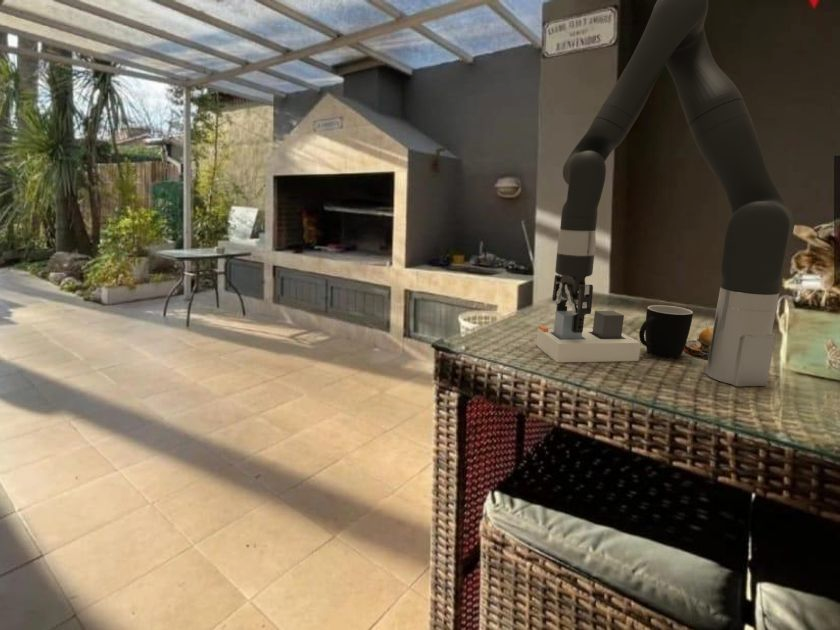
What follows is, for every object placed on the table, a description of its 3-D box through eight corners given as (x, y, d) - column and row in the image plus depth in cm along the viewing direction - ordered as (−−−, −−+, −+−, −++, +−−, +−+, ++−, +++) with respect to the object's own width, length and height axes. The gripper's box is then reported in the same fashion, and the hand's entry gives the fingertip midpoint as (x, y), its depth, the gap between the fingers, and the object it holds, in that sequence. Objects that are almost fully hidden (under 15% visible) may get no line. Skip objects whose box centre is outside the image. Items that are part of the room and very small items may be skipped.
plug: (580, 351, 106) (583, 315, 104) (560, 352, 106) (564, 315, 104) (571, 345, 110) (574, 310, 109) (552, 346, 110) (555, 310, 108)
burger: (753, 366, 104) (759, 331, 102) (692, 361, 106) (697, 327, 104) (730, 349, 115) (736, 318, 114) (675, 345, 118) (680, 314, 116)
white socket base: (638, 361, 104) (644, 319, 102) (556, 362, 102) (560, 320, 100) (610, 344, 116) (614, 307, 114) (536, 345, 113) (539, 307, 111)
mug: (661, 346, 115) (668, 304, 113) (695, 358, 107) (703, 312, 105) (622, 351, 111) (627, 307, 108) (654, 363, 103) (660, 316, 100)
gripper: (609, 256, 97) (600, 336, 101) (577, 248, 111) (571, 319, 114) (572, 255, 96) (565, 336, 100) (545, 248, 110) (539, 319, 113)
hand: (568, 327), depth 107 cm, fingers open, 8 cm apart
